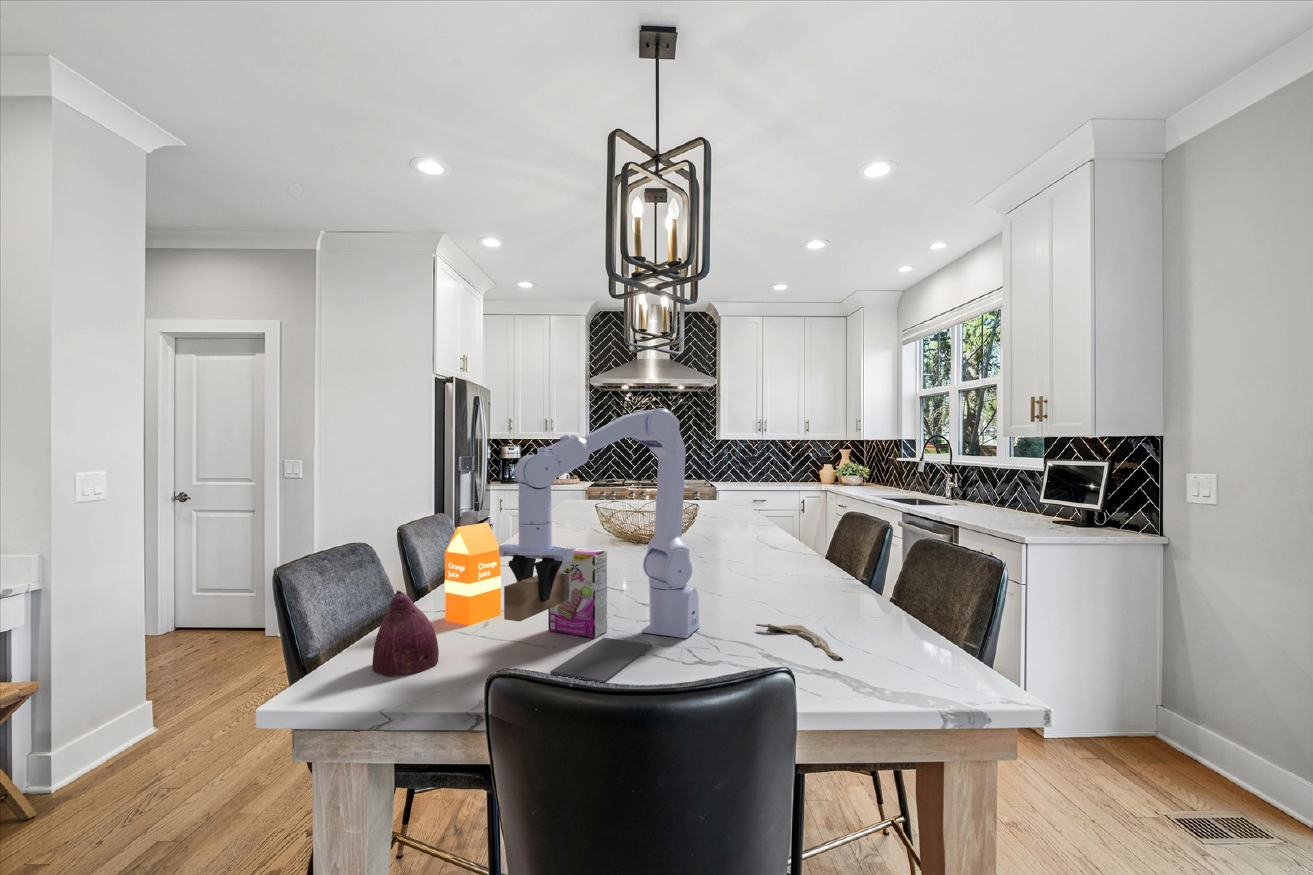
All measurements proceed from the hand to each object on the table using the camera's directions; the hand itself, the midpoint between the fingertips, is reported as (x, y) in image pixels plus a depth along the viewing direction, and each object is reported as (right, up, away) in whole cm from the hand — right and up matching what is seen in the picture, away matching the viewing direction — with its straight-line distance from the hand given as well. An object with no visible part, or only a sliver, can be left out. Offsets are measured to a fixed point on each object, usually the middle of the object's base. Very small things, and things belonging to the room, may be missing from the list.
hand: (535, 599), depth 106 cm
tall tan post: (0, -2, 0) cm, 2 cm away
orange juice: (-18, -10, +23) cm, 31 cm away
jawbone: (+47, -10, +5) cm, 49 cm away
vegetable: (-21, -10, -4) cm, 24 cm away
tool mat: (+12, -10, -2) cm, 16 cm away
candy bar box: (+6, -10, +13) cm, 17 cm away
